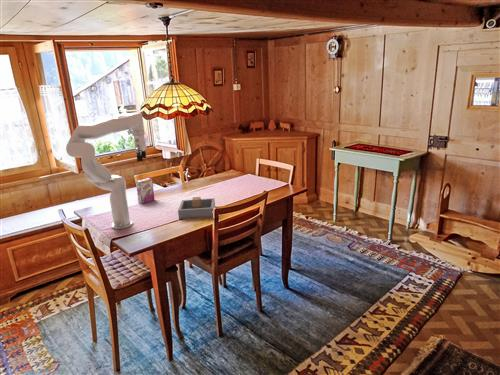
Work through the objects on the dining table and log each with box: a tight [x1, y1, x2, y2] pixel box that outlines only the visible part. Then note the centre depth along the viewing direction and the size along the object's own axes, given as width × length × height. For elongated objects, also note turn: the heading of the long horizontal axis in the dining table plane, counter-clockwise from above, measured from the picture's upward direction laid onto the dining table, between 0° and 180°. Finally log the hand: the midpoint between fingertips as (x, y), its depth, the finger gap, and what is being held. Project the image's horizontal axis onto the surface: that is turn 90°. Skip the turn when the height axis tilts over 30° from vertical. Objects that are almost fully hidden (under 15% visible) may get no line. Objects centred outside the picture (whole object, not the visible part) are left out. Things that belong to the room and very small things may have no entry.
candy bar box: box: [135, 177, 155, 205], centre depth 263 cm, size 11×5×16 cm, turn 141°
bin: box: [177, 198, 216, 220], centre depth 236 cm, size 20×22×6 cm
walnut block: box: [191, 196, 202, 209], centre depth 235 cm, size 5×5×9 cm
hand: (141, 159), depth 231 cm, fingers open, 9 cm apart
